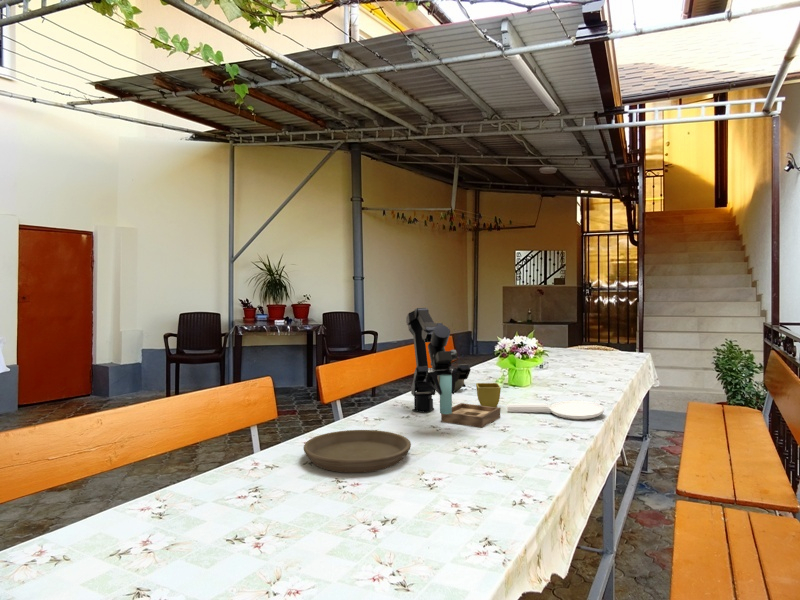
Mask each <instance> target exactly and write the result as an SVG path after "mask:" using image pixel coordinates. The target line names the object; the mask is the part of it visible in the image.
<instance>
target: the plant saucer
mask: <svg viewBox="0 0 800 600" xmlns="http://www.w3.org/2000/svg"><path fill="white" fill-rule="evenodd" d="M411 447H412V443H411V441H410V439H408V437H405V436H404V435H401V434H399V433H395V432H391V431H385V430H376V429H353V430H352V429H351V430H350V429H348V430H347V429H346V430H339V431H333V432H327V433H324V434H323V433H322V434H319V435H317V436H314V437H311V438H310V439H309V440H307V441H306V442H305V443H304V445H303V452H304V453H305V456H306V457H307V458H308V459H310V460H311V463H313V465H315V466H317V467H318V468H320V469H323V470H327V471H330V472H336V473H337V472H338V473H347V474H348V473H349V474H351V473H354V474H355V473H357V474H358V473H359V474H360V473H361V474H362V473H370V472H371V473H372V472H375V471H376V472H377V471H378V472H379V471H381V470H386V469H389V468H391V467H394V466H396V465H398V464H400V462H401V461H402V460H403V458H404V457H406V455H407V454H408V453H409V451H410V449H411Z"/></svg>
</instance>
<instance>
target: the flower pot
mask: <svg viewBox="0 0 800 600" xmlns="http://www.w3.org/2000/svg"><path fill="white" fill-rule="evenodd" d="M475 385H476V395H477V399H478V402H479V404H480V406H488V407H496V408H498V407H497V406H498V404H499V402H500V398H501V388H502V387H501V385H500V384H499V383H497V382H492V383H491V382H477V383H476V384H475Z"/></svg>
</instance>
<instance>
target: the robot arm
mask: <svg viewBox="0 0 800 600" xmlns="http://www.w3.org/2000/svg"><path fill="white" fill-rule="evenodd" d="M405 319H406V320H405V321H406V325H407V328H408V331H409V333H410V334H411V335H412V337H413V347H414V356H415V366H416V367H415V369H414V374H413V381H412V383H411V387H410V388H411V389H410V393H411V395H412V396H413V397H414V399H413V400H414V403H413V404H414V405H413V406H414V408H413V409H412V410H411V411H413V412H419V413H426V414H427V413H428V412H430V411H433V410H435V408H434V399H433V396H435V395H436V393H437V394H438V395H439V396H440V395H441V388H440V385H439V382H438V376H440V375H444V374H447V375H452V395H455V391H454V390H455V382H457V381H458V380H464V381H466V380H467V379H468V378H469V376H470V372H471V366H470V365H469V364H468V363H462V364H460V363H459V364H457V365H456V368H450V367H452V362H453V361H456V360H457V359H458V352H457V350H456V349H450V350H446V346H447V345H448V342H449V338H450V335H451V330H450V328H449V327H447V326H446V325H444V324H443V322H435V321H434V319H433V318H432V316H431V315H430V312H429V308H428V307H417V308H414V310H412V311H410V312H408V314H407V316H406V318H405ZM426 343H428V345H426ZM427 349H428V353H427ZM428 354H429V359H430V366H431V368H429V366H428V365H429V364H428Z"/></svg>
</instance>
